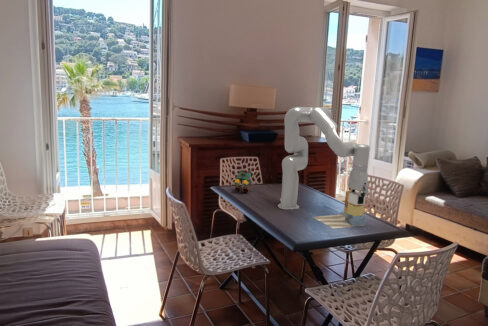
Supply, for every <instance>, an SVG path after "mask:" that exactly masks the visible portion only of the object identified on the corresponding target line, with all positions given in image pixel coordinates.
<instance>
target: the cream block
mask: <svg viewBox="0 0 488 326" xmlns="http://www.w3.org/2000/svg"><path fill="white" fill-rule="evenodd" d="M366 195H367V194H366ZM366 195H365V197H364V202H363V204H358V197H359V192H351V193H349V196H348V202H349V203H352V204H354V205H365V204H366Z"/></svg>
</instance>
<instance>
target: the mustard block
mask: <svg viewBox="0 0 488 326" xmlns="http://www.w3.org/2000/svg"><path fill="white" fill-rule="evenodd" d="M347 213H348V214H350V215H352V216H363V215H364V216H365V214H364V213H365V206H364V204H362V205H354V204H348V206H347Z"/></svg>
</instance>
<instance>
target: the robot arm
mask: <svg viewBox="0 0 488 326" xmlns="http://www.w3.org/2000/svg"><path fill="white" fill-rule="evenodd" d="M299 123H313V124H315V126H316V127H317V128H318V129H319V130H320V131H321V132H322V134H323V135H324V137H325V140H326V143H327V145H328V147H329V148H330V149H331V150H332V151H333V153H334V154H335V155H336V156H338V157H340V158H348V157H349V158H350V157H353V159H352V166H351V167H352V168H351V170H350V172H349V177H348V183H347V188H348V190H350V193H351V192H355V191H359V197H358V204H362V205H364V204H363V202H364V197H365V198H366V196H365V195H367V194H368V193H369V192H370V190H369V188H368V184H369V182H368V181H369V173H368V168H369V158H370V150H371V147H370V145H369V144H364V143H357V142H353V141H348V142H345V141H343V140H342V139H341V137H340V136H339V135H338V132H337V129H338V128H339V127H338V124H337V123H336V122H335V121H334V120H333V113H332V111H331V110H330V108H329V107H325V106H317V107H314V106H311V107H309V106H296V107H295V106H294V107H292V108H290V109H289V110H287V112H286V114H285V115H284V150H285V151H286V153H288V154H289V155H287V156H285V157H284V158H283V159H282V160H281V161H282V162H281V169H282V170H281V171H282V180H281V182H282V183H281V196H280V198H279V201H280V203H279V204H277V207H278V208H279V209H280V210H284V211H287V210H299V209H300V205H298V204H297V203H298V194H299V192H298V191H299V182H300V181H299V179H300V178H299V173H298V171H302V170H304V169H306V168H307V166H308V162H309V143H308V141H307V139H306V138H305V137H304V136H300V126H299ZM290 154H292V155H290ZM361 192H362V193H361Z"/></svg>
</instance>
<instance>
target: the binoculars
mask: <svg viewBox="0 0 488 326" xmlns="http://www.w3.org/2000/svg"><path fill="white" fill-rule="evenodd" d="M251 172H252V171H251V170H247V172H245V170H243V169H241V170H240V172H238V174H237V175H236V178H235V180H234V184H233V185H234V191H235V192H236V191H239V192H238V193H241V192H243V193H244V192H246V193H245V194H249V192H250V191H252V190H253V189H254V187H255V184H254V183H252V180H251V176H252V175H251ZM241 182H242V183H241ZM240 184H241V185H242V186H241V185H240ZM248 184H250V185H252V186H253V187H252V188H250V187H249V186H248ZM249 190H250V191H249Z"/></svg>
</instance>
